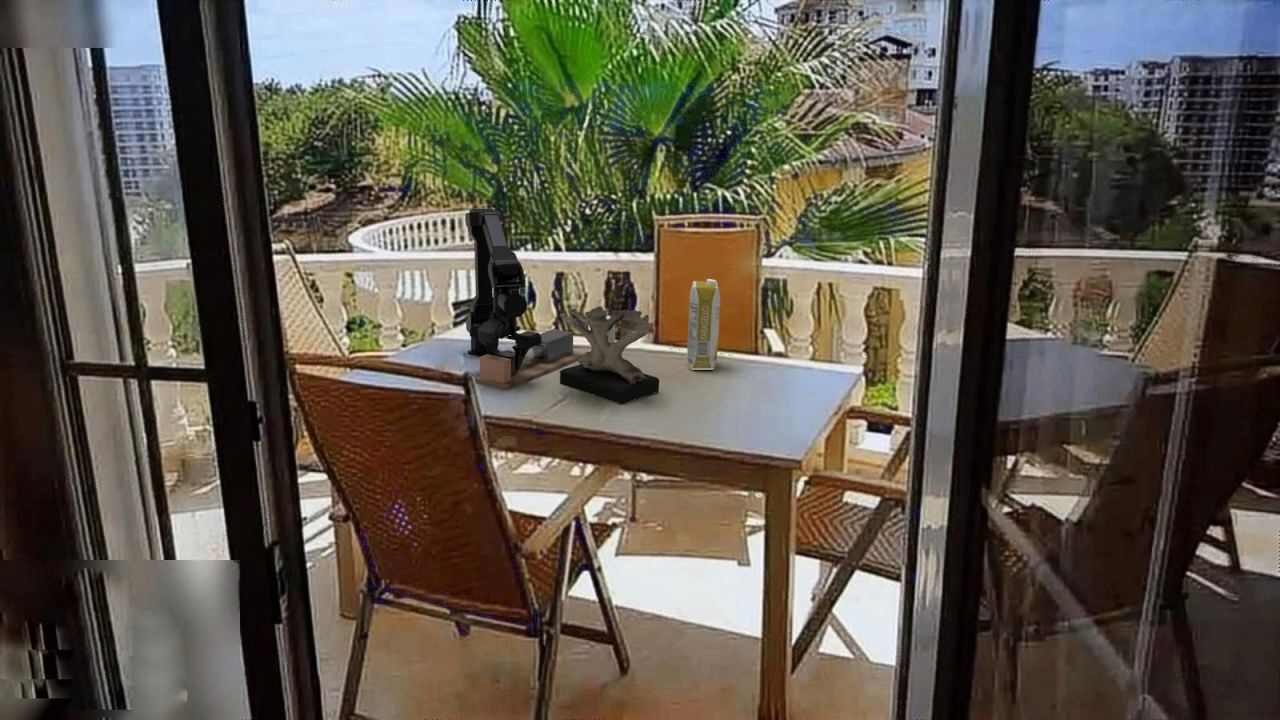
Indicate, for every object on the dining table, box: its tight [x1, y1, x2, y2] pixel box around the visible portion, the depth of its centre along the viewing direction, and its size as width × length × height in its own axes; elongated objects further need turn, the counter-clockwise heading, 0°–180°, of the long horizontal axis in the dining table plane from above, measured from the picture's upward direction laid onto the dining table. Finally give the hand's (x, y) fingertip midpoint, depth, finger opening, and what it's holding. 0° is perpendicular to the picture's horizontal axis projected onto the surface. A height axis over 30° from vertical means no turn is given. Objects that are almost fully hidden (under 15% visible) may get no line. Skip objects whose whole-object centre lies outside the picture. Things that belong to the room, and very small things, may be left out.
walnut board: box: [473, 350, 585, 391], centre depth 268 cm, size 35×12×1 cm, turn 150°
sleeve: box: [531, 328, 574, 364], centre depth 275 cm, size 12×6×6 cm, turn 150°
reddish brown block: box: [479, 354, 511, 383], centre depth 255 cm, size 3×7×6 cm, turn 60°
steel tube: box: [494, 344, 544, 376], centre depth 264 cm, size 21×5×5 cm, turn 150°
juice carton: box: [686, 278, 721, 370], centre depth 271 cm, size 9×8×24 cm
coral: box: [559, 305, 660, 405], centre depth 249 cm, size 25×20×22 cm
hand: (505, 367), depth 259 cm, fingers open, 7 cm apart
